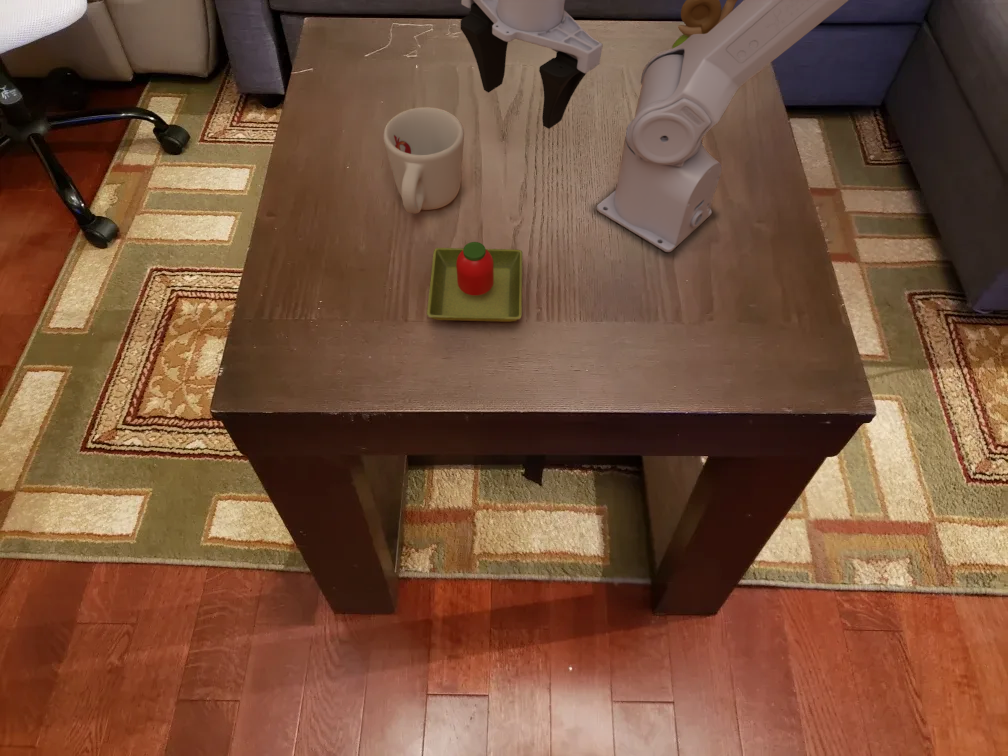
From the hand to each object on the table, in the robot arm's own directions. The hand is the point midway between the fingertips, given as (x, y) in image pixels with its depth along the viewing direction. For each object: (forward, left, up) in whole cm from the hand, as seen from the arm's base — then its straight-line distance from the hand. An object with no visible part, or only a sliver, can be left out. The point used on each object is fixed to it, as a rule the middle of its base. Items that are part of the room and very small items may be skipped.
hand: (522, 104), depth 71 cm
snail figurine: (-2, -30, -11) cm, 32 cm away
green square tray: (-7, +14, -11) cm, 19 cm away
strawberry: (-7, +14, -8) cm, 18 cm away
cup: (+6, +8, -11) cm, 15 cm away
